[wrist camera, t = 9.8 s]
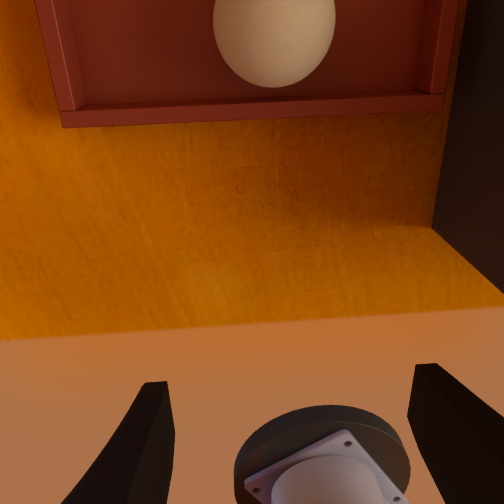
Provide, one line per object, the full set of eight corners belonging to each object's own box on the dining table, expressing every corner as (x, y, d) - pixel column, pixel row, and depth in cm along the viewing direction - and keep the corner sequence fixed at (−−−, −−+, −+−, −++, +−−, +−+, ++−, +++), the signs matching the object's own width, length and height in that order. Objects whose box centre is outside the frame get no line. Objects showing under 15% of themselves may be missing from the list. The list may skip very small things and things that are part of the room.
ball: (314, 21, 17) (375, 51, 14) (234, 87, 17) (278, 129, 15) (268, -88, 14) (334, -77, 11) (173, -6, 14) (215, 25, 12)
